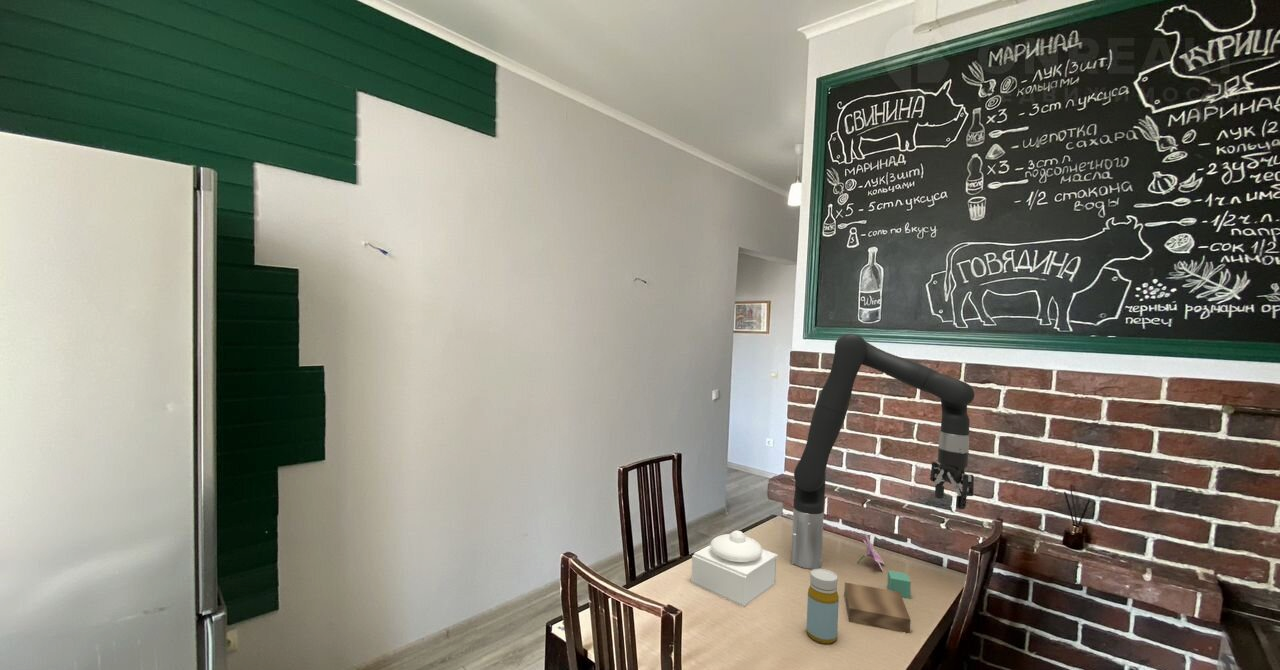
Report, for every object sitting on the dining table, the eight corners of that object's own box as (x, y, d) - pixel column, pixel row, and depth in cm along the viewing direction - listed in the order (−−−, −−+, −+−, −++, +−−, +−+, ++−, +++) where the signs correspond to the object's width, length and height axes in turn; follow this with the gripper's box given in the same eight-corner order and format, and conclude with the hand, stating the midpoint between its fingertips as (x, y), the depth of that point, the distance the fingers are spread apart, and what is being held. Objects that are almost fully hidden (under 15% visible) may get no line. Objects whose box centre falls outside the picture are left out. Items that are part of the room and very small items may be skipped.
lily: (870, 580, 153) (888, 555, 152) (838, 552, 161) (855, 528, 160) (884, 581, 161) (901, 557, 160) (853, 553, 169) (869, 530, 168)
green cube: (890, 595, 142) (891, 578, 142) (887, 587, 147) (888, 570, 147) (909, 599, 141) (910, 581, 141) (906, 590, 145) (907, 573, 145)
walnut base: (848, 623, 128) (849, 608, 128) (844, 596, 142) (844, 582, 142) (909, 635, 124) (910, 619, 124) (899, 606, 137) (899, 591, 137)
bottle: (801, 627, 125) (804, 567, 125) (828, 627, 126) (831, 567, 126) (813, 645, 118) (816, 581, 118) (842, 644, 119) (844, 581, 119)
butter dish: (691, 583, 145) (693, 529, 145) (725, 564, 158) (727, 513, 158) (744, 608, 133) (746, 548, 133) (776, 584, 147) (778, 530, 146)
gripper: (925, 442, 153) (921, 494, 154) (959, 454, 139) (955, 512, 140) (947, 442, 154) (943, 495, 155) (984, 455, 140) (980, 512, 140)
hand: (949, 503), depth 147 cm, fingers open, 8 cm apart
